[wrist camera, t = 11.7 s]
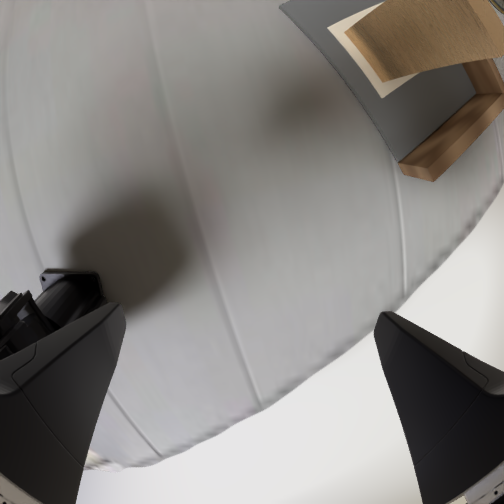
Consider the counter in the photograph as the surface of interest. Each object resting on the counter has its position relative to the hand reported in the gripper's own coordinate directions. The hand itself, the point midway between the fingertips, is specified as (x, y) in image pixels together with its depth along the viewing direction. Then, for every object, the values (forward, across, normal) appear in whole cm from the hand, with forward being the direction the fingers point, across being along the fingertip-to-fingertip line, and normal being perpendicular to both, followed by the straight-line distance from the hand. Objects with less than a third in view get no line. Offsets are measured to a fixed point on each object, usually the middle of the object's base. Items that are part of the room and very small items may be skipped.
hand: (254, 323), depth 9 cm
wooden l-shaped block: (+13, -11, -16) cm, 24 cm away
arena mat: (+14, -12, -16) cm, 24 cm away
